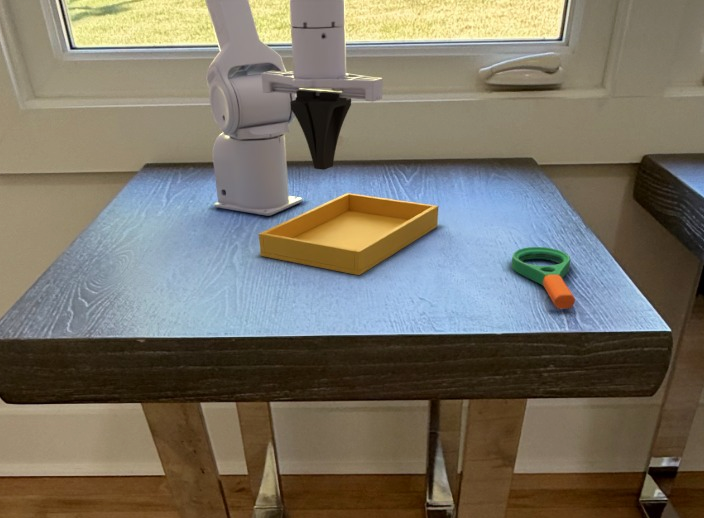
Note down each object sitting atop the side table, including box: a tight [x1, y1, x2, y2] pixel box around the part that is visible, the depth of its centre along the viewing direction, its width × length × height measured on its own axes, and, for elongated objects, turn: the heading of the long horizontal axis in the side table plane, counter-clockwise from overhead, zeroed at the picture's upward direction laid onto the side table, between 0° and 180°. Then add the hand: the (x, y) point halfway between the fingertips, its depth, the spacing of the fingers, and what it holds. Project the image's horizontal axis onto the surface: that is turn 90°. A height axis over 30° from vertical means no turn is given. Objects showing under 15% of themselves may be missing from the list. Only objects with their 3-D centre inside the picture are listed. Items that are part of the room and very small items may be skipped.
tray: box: [258, 192, 439, 276], centre depth 84 cm, size 13×19×2 cm
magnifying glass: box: [511, 246, 576, 310], centre depth 72 cm, size 15×6×2 cm, turn 179°
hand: (323, 167), depth 82 cm, fingers closed
